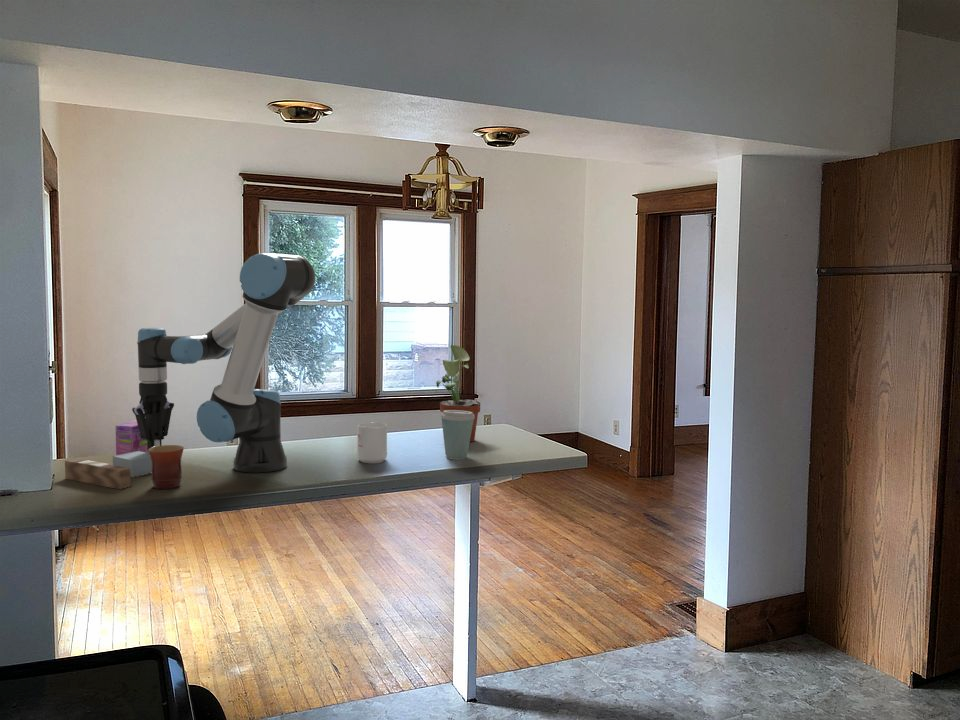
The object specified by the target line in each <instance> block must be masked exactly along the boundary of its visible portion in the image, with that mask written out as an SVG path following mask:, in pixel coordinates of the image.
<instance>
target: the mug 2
mask: <svg viewBox="0 0 960 720" xmlns="http://www.w3.org/2000/svg"><path fill="white" fill-rule="evenodd" d="M387 432H388V425H387V423H385V422H384V423H383V422H375V421H374V422H373V421H372V422H371V421H370V422H369V421H368V422H363V423H359V424H357V459H358V460H359V461H360V462H361V463H364V464H380V463H383V462H385V460H386V459H387V457H388V455H387V454H388V452H387V451H388V449H387V448H388V433H387Z"/></svg>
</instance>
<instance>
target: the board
mask: <svg viewBox="0 0 960 720" xmlns="http://www.w3.org/2000/svg"><path fill="white" fill-rule="evenodd" d="M64 475H65V476H64V477H65V480H71V481H76V482H81V483H85V484H91V485H97V486H102V487H107V488H113V489H116V490H117V489H118V490H123V488H124V489H127V487H128V488H130V486H131V477H130V468H126V467H121V466H115V465H113V464H111V463H108V462H107V463H106V462H100V461H96V460H89V459H88V460H86V459H80V458H72V459H71V458H70V459H67V460H64Z"/></svg>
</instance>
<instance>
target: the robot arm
mask: <svg viewBox="0 0 960 720" xmlns="http://www.w3.org/2000/svg"><path fill="white" fill-rule="evenodd" d="M239 283H241V284H240V287H241V290H242V291H243V292H242V293H243V294H242V299H243V300H244V302H245V303H244V304H242V305H241V306H240V307H238V308H237V309H236V310H235V311H234V312H232V313H231V314H230V315H228V316H227V317H226V318H225V319H223V321H220V322H219V323H218V324H217V325H216V326H214V327H213V328H212V329H210V330H209V331H208V332H206V333H204V334H203V333H202V334H195V335H181V336H178V335H168V334H167V330H166V329H165V328H163V327H142V328H139V330H138V331H137V342H136V343H137V360H138V361H137V362H138V380H139V383H138V394H139V396H140V400H139V404H138V405H137V406H136V407H132V409H131V411H132V413H133V415H134V416H135V418H136V419H135V420H137V424H138V428H139V432H140V436H141V439H145V440H147V446H148V447H147V448H148V449H149V448H152V447H156V446H163V445H162V440H164V439H165V437H167V436H168V434H169V428H170V423H171V416H172V411H173V409H174V407H175V403H174V402H170V401H169V400H168V397H167V394H168V382H167V380H168V368H167V367H168V365H167V363H175V364H181V365H191V364H196V363H198V362H201V361H208V360H219V359H222V358H226V357H228V356H229V358H228V362H227V364H226V368H225V371H224V374H223V377H222V380H221V383H220V384H218V385H216V386H214V388H213V389H212V393H211V397H210V400H206V401H205V402H203V403H201V404H200V405H199V407H198V409H197V412H196V422H197V423H196V424H197V427H199V431H200V433H201V434H202V435H203V436H204V438H206V439H207V440H209V441H211V442H213V443H225V442H226V443H227V442H230V441H232V440H236V439H239V442H238V446H237V449H236V453H235V457H234V459H233V469H234V470H235V471H237V472H241V473H242V472H243V473H251V474H252V473H259V474H260V473H269V472H276V471H280V470H283V469H285V468H287V466H288V458H287V455H286V454H285V450H284V446H283V444H282V437H281V435H282V434H281V432H282V431H281V430H282V429H281V405H282V403H281V395H280V393H279V392H278V391H277V390H273V389H264V388H263V389H262V388H255V387H256V384H257V380H258V378H259V375H260V372H261V369H262V366H263V363H264V359H265V356H266V354H267V350H268V347H269V345H270V344H269V343H270V341H271V338H272V335H273V331H274V328H275V325H276V322H277V319H278V316H279V314H281V313H283V312H285V311H286V310H287V308H288V307H292V306H295V305H296V304H298V303H299V302H300V301H301V300H303V299H304V298H305V297H306V296H307V295H309V294H310V293H311V291H312V290H313V288H314V286H315V283H316V272H315V269H314V267H313V265H312V264H311V263H310V261H309V259H307V258H305V257H303V256H301V255H297V254H292V253H291V254H286V253H274V252H263V253H256V254H254V255H252V256H250V257H248V258H247V259H246V260H245V261H244V262H243V265H242V267H241V269H240V272H239Z"/></svg>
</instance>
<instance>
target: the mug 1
mask: <svg viewBox="0 0 960 720" xmlns="http://www.w3.org/2000/svg"><path fill="white" fill-rule="evenodd" d="M184 450H185V447H184V446H182V445H178V444H166V445H165V444H163V445H162V446H156V447H152V448H149V449H148V452H149V454H150V457H151V462H152V473H151V484H152V487H153V488H155V489H157V490H173V489H177V488H178V487H180V485H182V481H183V480H182V478H183V470H182V467H183V466H182V459H183V458H182V456H183V453H184Z"/></svg>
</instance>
